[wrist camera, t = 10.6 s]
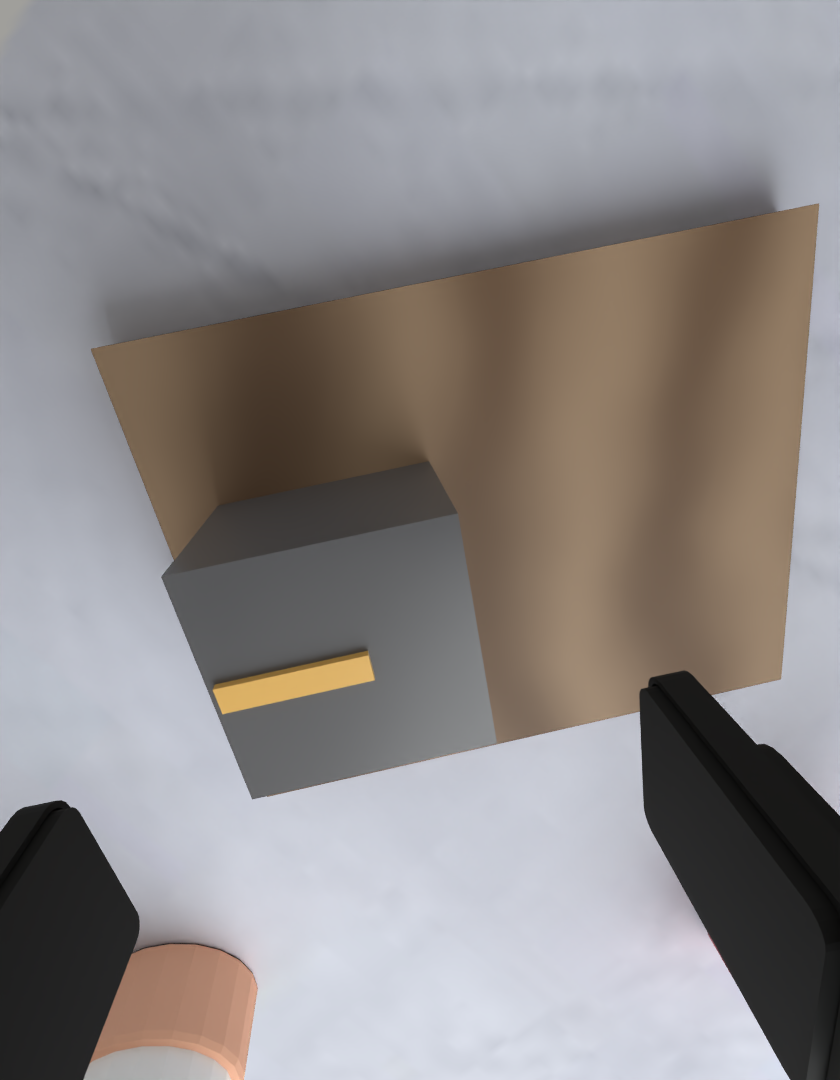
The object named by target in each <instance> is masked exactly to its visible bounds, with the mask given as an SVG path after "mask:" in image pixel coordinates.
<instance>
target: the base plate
mask: <svg viewBox="0 0 840 1080" xmlns="http://www.w3.org/2000/svg"><path fill="white" fill-rule="evenodd" d="M818 211H819V204H814V205H809V206H804V207H799V208H794V209H789V210H784V211H779V212H774V213H769V214H764V215H759V216H754V217H749V218H744V219H739V220H734V221H729V222H724V223H719V224H714V225H709V226H704V227H699V228H694V229H689V230H684V231H679V232H674V233H669V234H664V235H659V236H654V237H649V238H644V239H639V240H634V241H629V242H624V243H619V244H614V245H609V246H604V247H599V248H594V249H589V250H584V251H579V252H574V253H569V254H564V255H559V256H554V257H549V258H544V259H539V260H534V261H529V262H523V263H518V264H513V265H508V266H503V267H498V268H493V269H488V270H483V271H478V272H473V273H468V274H463V275H458V276H453V277H448V278H443V279H438V280H433V281H428V282H423V283H418V284H413V285H408V286H403V287H398V288H393V289H388V290H383V291H378V292H373V293H368V294H363V295H358V296H353V297H348V298H343V299H338V300H333V301H328V302H323V303H318V304H313V305H308V306H303V307H298V308H293V309H288V310H283V311H278V312H273V313H268V314H263V315H258V316H253V317H248V318H243V319H238V320H233V321H228V322H223V323H218V324H213V325H208V326H203V327H198V328H193V329H188V330H183V331H178V332H173V333H168V334H163V335H158V336H153V337H148V338H143V339H138V340H133V341H128V342H123V343H118V344H113V345H108V346H103V347H98V348H93V349H91V351H92V354H93V356H94V359H95V361H96V364H97V366H98V369H99V371H100V374H101V376H102V379H103V381H104V384H105V387H106V389H107V392H108V394H109V397H110V399H111V402H112V404H113V407H114V409H115V412H116V414H117V417H118V419H119V422H120V425H121V427H122V430H123V432H124V435H125V437H126V440H127V442H128V445H129V447H130V450H131V452H132V455H133V458H134V460H135V463H136V465H137V468H138V470H139V473H140V475H141V478H142V480H143V483H144V485H145V488H146V491H147V493H148V496H149V498H150V501H151V503H152V506H153V508H154V511H155V513H156V516H157V518H158V521H159V524H160V526H161V529H162V531H163V534H164V536H165V539H166V541H167V544H168V546H169V549H170V551H171V554H172V556H173V559H174V560H175V559H176V558H177V557H178V555H179V554H180V553H181V552H182V550H183V549H184V548H185V546H186V545H187V544H188V543H189V541H190V540H191V539H192V538H193V536H194V535H195V534H196V533H197V531H198V530H199V529H200V528H201V526H202V525H203V524H204V523H205V521H206V520H207V519H208V518H209V516H210V515H211V514H212V512H213V511H214V510H215V509H216V507H217V506H219V505H223V504H228V503H233V502H238V501H242V500H247V499H252V498H257V497H261V496H266V495H271V494H276V493H280V492H285V491H290V490H295V489H299V488H304V487H309V486H314V485H318V484H323V483H328V482H333V481H337V480H342V479H347V478H352V477H356V476H361V475H366V474H371V473H375V472H380V471H385V470H390V469H394V468H399V467H404V466H409V465H413V464H418V463H423V462H428V461H429V462H430V464H431V465H432V467H433V469H434V471H435V473H436V474H437V476H438V478H439V480H440V482H441V484H442V485H443V487H444V489H445V491H446V493H447V494H448V496H449V498H450V500H451V502H452V503H453V505H454V507H455V509H456V511H457V513H458V517H459V522H460V528H461V534H462V540H463V546H464V552H465V558H466V564H467V570H468V575H469V581H470V587H471V593H472V599H473V605H474V611H475V617H476V623H477V629H478V634H479V640H480V646H481V652H482V658H483V664H484V670H485V676H486V682H487V688H488V693H489V699H490V705H491V711H492V717H493V723H494V729H495V735H496V741H497V743H496V744H500V743H504V742H509V741H513V740H517V739H522V738H526V737H530V736H535V735H539V734H544V733H548V732H552V731H557V730H561V729H565V728H570V727H574V726H579V725H583V724H587V723H592V722H596V721H600V720H605V719H609V718H614V717H618V716H622V715H627V714H631V713H635V712H640V700H639V693H640V690H641V689H643V688H648V682H649V679H650V678H651V677H655V676H659V675H664V674H669V673H674V672H679V671H683V670H685V671H688V672H689V673H691V674H692V675H693V676H694V677H695V678H696V679H697V681H698V682H699V683H700V684H701V685H702V686H703V687H704V688H705V689H706V690H707V691H708V692H709V694H710V695H714V694H718V693H723V692H727V691H732V690H736V689H740V688H745V687H749V686H753V685H758V684H762V683H766V682H771V681H775V680H780V679H781V673H782V661H783V648H784V636H785V623H786V611H787V598H788V586H789V573H790V561H791V548H792V536H793V523H794V511H795V498H796V486H797V473H798V461H799V448H800V436H801V423H802V411H803V398H804V386H805V373H806V361H807V348H808V336H809V323H810V311H811V298H812V286H813V273H814V261H815V248H816V236H817V223H818ZM492 745H495V744H492ZM488 746H491V745H488ZM483 747H487V746H483ZM479 748H482V747H479ZM475 749H478V748H475ZM470 750H474V749H470ZM466 751H469V750H466ZM461 752H465V751H461ZM461 752H457V753H461ZM453 754H456V753H453ZM448 755H452V754H448ZM444 756H447V755H444ZM440 757H443V756H440ZM435 758H439V757H435ZM431 759H434V758H431ZM426 760H430V759H426ZM426 760H422V761H426ZM418 762H421V761H418ZM413 763H417V762H413ZM409 764H412V763H409ZM405 765H408V764H405ZM400 766H404V765H400ZM396 767H399V766H396ZM391 768H395V767H391ZM391 768H387V769H391ZM383 770H386V769H383ZM378 771H382V770H378ZM374 772H377V771H374ZM370 773H373V772H370ZM365 774H369V773H365ZM361 775H364V774H361ZM356 776H360V775H356ZM356 776H352V777H356ZM348 778H351V777H348ZM343 779H347V778H343ZM339 780H342V779H339ZM335 781H338V780H335ZM330 782H334V781H330ZM326 783H329V782H326ZM322 784H325V783H322ZM317 785H321V784H317ZM313 786H316V785H313ZM308 787H312V786H308ZM308 787H304V788H308ZM300 789H303V788H300ZM295 790H299V789H295ZM291 791H294V790H291ZM287 792H290V791H287ZM282 793H286V792H282ZM278 794H281V793H278ZM273 795H277V794H273ZM273 795H269V796H273ZM267 797H268V796H267Z"/></svg>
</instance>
